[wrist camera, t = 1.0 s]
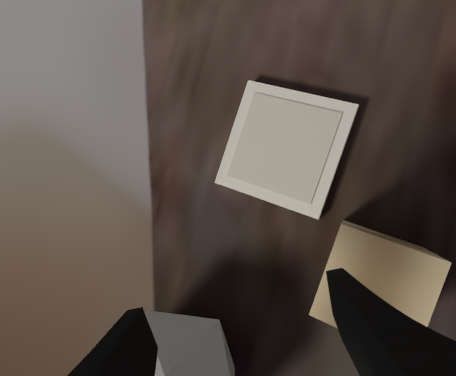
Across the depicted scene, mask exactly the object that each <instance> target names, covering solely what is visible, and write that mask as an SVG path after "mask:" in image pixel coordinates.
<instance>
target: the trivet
mask: <svg viewBox="0 0 456 376" xmlns="http://www.w3.org/2000/svg"><path fill="white" fill-rule="evenodd" d="M358 108H359V104H354V103H350V102H345V101H340V100H336V99H331V98H327V97H322V96H318V95H313V94H309V93H304V92H300V91H295V90H291V89H286V88H282V87H277V86H273V85H268V84H264V83H259V82H255V81H250V80H248V83H247V86H246V89H245V92H244V95H243V98H242V101H241V104H240V107H239V110H238V113H237V116H236V119H235V122H234V125H233V128H232V131H231V134H230V137H229V140H228V143H227V147H226V150H225V153H224V156H223V159H222V162H221V165H220V168H219V171H218V174H217V177H216V180H215V183H217V184H220V185H223V186H226V187H228V188H231V189H234V190H237V191H240V192H242V193H245V194H248V195H251V196H254V197H256V198H259V199H262V200H265V201H268V202H270V203H273V204H276V205H279V206H282V207H285V208H287V209H290V210H293V211H296V212H299V213H301V214H304V215H307V216H310V217H313V218H315V219H320V216H321V213H322V210H323V208H324V205H325V202H326V199H327V196H328V193H329V190H330V188H331V185H332V182H333V179H334V176H335V173H336V171H337V168H338V165H339V162H340V159H341V156H342V153H343V151H344V148H345V145H346V142H347V139H348V136H349V134H350V131H351V128H352V125H353V122H354V119H355V116H356V114H357V111H358Z"/></svg>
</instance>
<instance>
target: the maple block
mask: <svg viewBox="0 0 456 376" xmlns="http://www.w3.org/2000/svg"><path fill="white" fill-rule="evenodd" d="M450 266H451V262H449V261H448V260H446V259H444V258H442V257H440V256H438V255H437V254H435V253H433V252H431V251H429V250H427V249H425V248H423V247H420V246H418V245H415V244H412V243H409V242H406V241H403V240H400V239H397V238H394V237H392V236H389V235H386V234H383V233H380V232H377V231H374V230H371V229H369V228H366V227H363V226H360V225H357V224H354V223H351V222H348V221H345V220H343V222H342V223H341V226H340V229H339V232H338V234H337V237H336V240H335V243H334V246H333V248H332V251H331V254H330V257H329V260H328V263H327V265H326V268H325V271H324V274H323V277H322V279H321V282H320V285H319V288H318V291H317V293H316V296H315V299H314V302H313V305H312V307H311V310H310V313H309V315H310V316H312V317H314V318H316V319H319V320H321V321H323V322H325V323H327V324H329V325H332V326H334V327H336V328H337V325H336V322H335V320H334V317H333V314H332V308H331V301H330V295H329V288H328V282H327V276H326V271H328V270H333V269H338V268H343V269H345V270H346V271H347V272H348V273H350V274H351V275H352V276H353V277H354V278H356V279H357V280H358V281H359V282H361V283H362V284H363V285H364V286H366V287H367V288H368V289H369V290H371V291H372V292H373V293H375V294H376V295H378V296H379V297H380V298H382V299H383V300H384V301H386V302H387V303H389V304H390V305H392V306H393V307H395V308H396V309H398V310H399V311H401V312H402V313H404V314H405V315H407V316H409V317H410V318H412V319H413V320H415V321H417V322H419V323H421V324H422V325H424V326H426V327H427V326H428V324H429V321H430V319H431V316H432V313H433V311H434V308H435V305H436V303H437V300H438V298H439V295H440V292H441V290H442V287H443V284H444V282H445V279H446V277H447V274H448V271H449V269H450Z"/></svg>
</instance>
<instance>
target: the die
mask: <svg viewBox="0 0 456 376" xmlns="http://www.w3.org/2000/svg"><path fill="white" fill-rule="evenodd" d="M144 313H145V315H146V318H147V320H148V323H149V325H150V328H151V330H152V333H153V336H154V338H155V341H156V343H157V346H158V353H157V362H156V369H155V376H235V366H234V363H233V360H232V357H231V354H230V351H229V348H228V345H227V341H226V338H225V335H224V332H223V329H222V326H221V323H220V320H218V319H210V318H203V317H196V316H188V315H181V314H172V313H164V312H155V311H146V310H144Z"/></svg>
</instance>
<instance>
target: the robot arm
mask: <svg viewBox="0 0 456 376" xmlns="http://www.w3.org/2000/svg"><path fill="white" fill-rule="evenodd" d="M326 276H327V282H328V288H329V295H330V301H331V308H332V314H333V317H334V320H335V322H336V325H337V328H338V331H339V333H340V336H341V339H342V341H343V343H344V345H345V347H346V349H347V351H348V353H349V355H350V357H351V359H352V361H353V363H354V365H355V367H356V369H357V371H358V373H359V375H360V376H456V341H454V340H452V339H450V338H448V337H445V336H443V335H441V334H439V333H437V332H435V331H433V330H432V329H430V328H428V327H426V326H424V325H422V324H421V323H419V322H417V321H415V320H413V319H412V318H410V317H409V316H407V315H405V314H404V313H402V312H401V311H399V310H398V309H396V308H395V307H393V306H392V305H390V304H389V303H387V302H386V301H384V300H383V299H382V298H380V297H379V296H378V295H376V294H375V293H373V292H372V291H371V290H369V289H368V288H367V287H366V286H364V285H363V284H362V283H361V282H359V281H358V280H357V279H356V278H354V277H353V276H352V275H351V274H350V273H348V272H347V271H346V270H345V269H343V268H338V269H333V270H328V271H326ZM157 353H158V346H157V343H156V341H155V338H154V336H153V333H152V330H151V328H150V325H149V323H148V320H147V318H146V315H145V313H144V310H143V308H142V307H141V308H136V309H131V310H128V311H126V312H125V313H124V314H123V316H122V317H121V318H120V319H119V320H118V321H117V322H116V323H115V324H114V326H113V327H112V328H111V329H110V330H109V331H108V332H107V334H106V335H105V336H104V337H103V338H102V339H101V340H100V341H99V343H98V344H97V345H96V346H95V347H94V348H93V349H92V350H91V352H90V353H89V354H88V355H87V356H86V357H85V358H84V359H83V360H82V361H81V362H80V363H79V364H78V365H77V366H76V367H75V368H74V369H73V370H72V371H71V372H70V374H69V375H68V376H155V369H156V362H157Z"/></svg>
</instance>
